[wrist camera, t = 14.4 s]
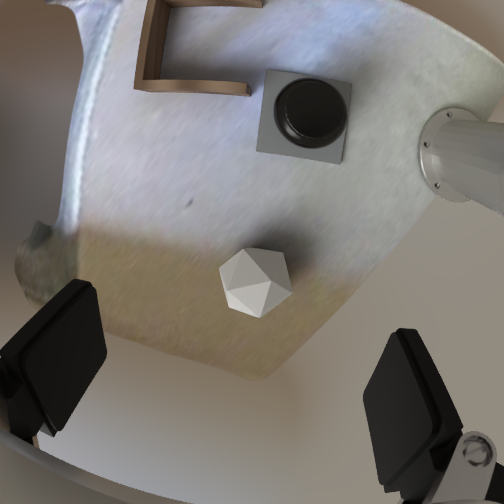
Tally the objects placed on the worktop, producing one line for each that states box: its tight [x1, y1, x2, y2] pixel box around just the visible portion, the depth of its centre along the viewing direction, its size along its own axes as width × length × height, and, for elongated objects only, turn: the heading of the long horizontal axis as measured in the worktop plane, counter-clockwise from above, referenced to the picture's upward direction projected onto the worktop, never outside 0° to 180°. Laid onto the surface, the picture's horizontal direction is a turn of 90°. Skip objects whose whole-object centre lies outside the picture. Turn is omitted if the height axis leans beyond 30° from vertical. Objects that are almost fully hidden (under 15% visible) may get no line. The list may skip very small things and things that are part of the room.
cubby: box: [133, 0, 263, 97], centre depth 29 cm, size 12×13×5 cm
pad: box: [256, 70, 352, 165], centre depth 33 cm, size 10×10×1 cm
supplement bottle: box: [273, 77, 348, 149], centre depth 28 cm, size 7×7×12 cm
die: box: [219, 247, 293, 318], centre depth 38 cm, size 8×9×10 cm
